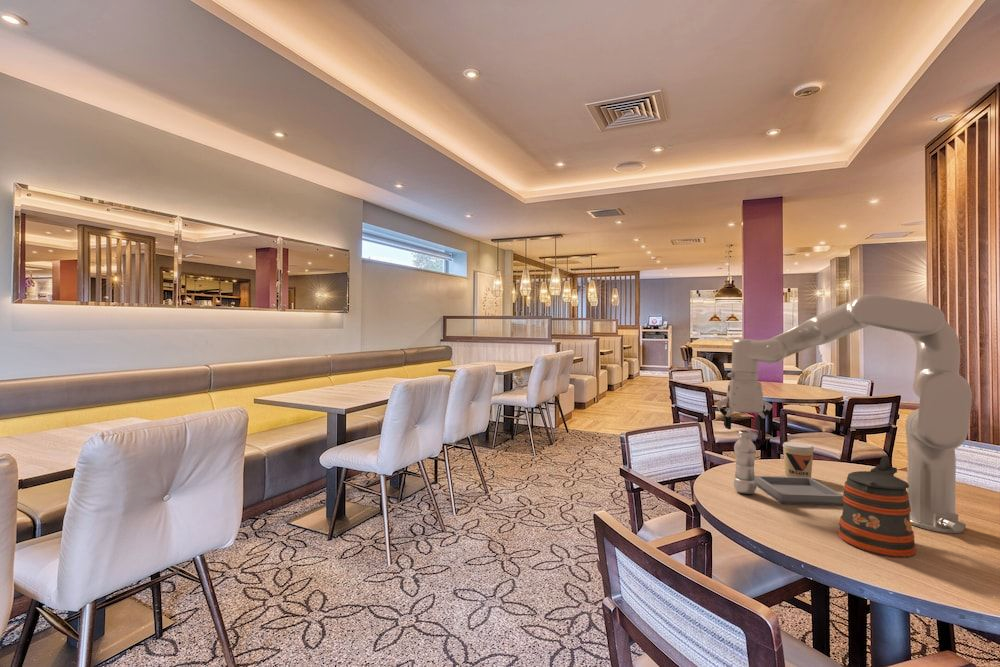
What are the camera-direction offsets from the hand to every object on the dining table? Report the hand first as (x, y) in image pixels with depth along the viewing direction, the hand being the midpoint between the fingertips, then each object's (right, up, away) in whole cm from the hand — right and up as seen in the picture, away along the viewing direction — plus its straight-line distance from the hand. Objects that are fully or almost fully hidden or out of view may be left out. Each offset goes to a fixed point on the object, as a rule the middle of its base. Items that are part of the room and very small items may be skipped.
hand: (743, 429), depth 147 cm
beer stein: (+15, -21, -34) cm, 43 cm away
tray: (+16, -21, -2) cm, 27 cm away
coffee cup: (+28, -21, +15) cm, 38 cm away
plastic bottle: (0, -21, 0) cm, 21 cm away
